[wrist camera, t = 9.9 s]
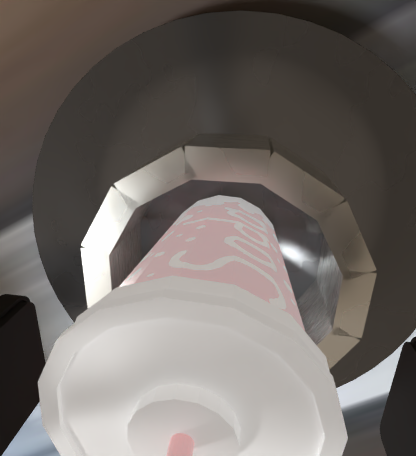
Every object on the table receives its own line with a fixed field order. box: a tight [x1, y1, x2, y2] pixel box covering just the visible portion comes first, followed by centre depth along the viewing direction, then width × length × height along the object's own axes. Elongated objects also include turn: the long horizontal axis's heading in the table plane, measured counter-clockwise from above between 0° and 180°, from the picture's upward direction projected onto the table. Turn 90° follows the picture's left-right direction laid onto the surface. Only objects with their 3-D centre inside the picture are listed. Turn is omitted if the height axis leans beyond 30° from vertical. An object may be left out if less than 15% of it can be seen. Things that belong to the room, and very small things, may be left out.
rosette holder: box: [32, 11, 416, 388], centre depth 14 cm, size 18×18×5 cm
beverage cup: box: [38, 195, 348, 456], centre depth 9 cm, size 6×6×14 cm
